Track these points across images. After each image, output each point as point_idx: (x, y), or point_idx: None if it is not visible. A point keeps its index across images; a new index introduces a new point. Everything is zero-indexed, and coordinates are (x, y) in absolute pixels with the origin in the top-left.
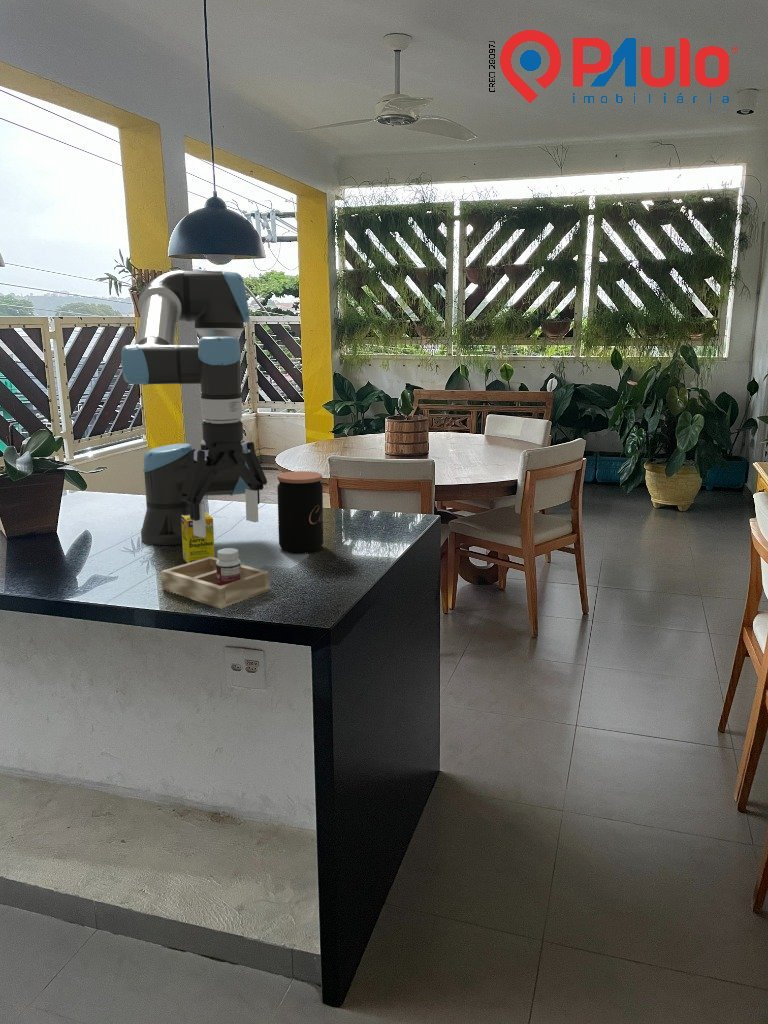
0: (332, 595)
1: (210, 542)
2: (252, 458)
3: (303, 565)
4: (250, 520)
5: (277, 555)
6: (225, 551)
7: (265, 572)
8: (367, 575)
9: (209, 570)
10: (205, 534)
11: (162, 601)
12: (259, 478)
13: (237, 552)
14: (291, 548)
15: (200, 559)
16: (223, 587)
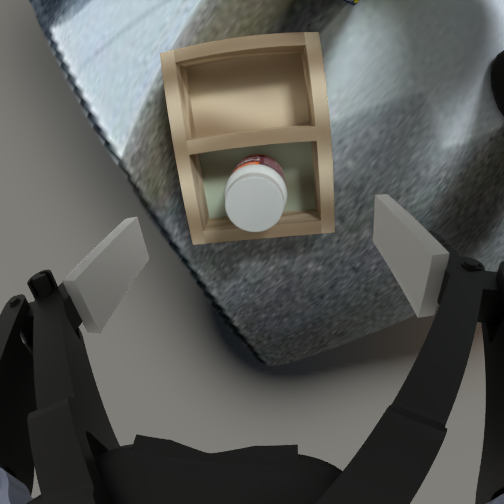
0: (371, 303)
1: None
2: (481, 472)
3: (463, 158)
4: (375, 217)
5: (472, 74)
6: (247, 202)
7: (327, 229)
8: None
9: (298, 51)
10: (144, 262)
11: (142, 120)
12: (488, 333)
13: (269, 227)
14: (497, 95)
15: (282, 34)
16: (202, 242)
